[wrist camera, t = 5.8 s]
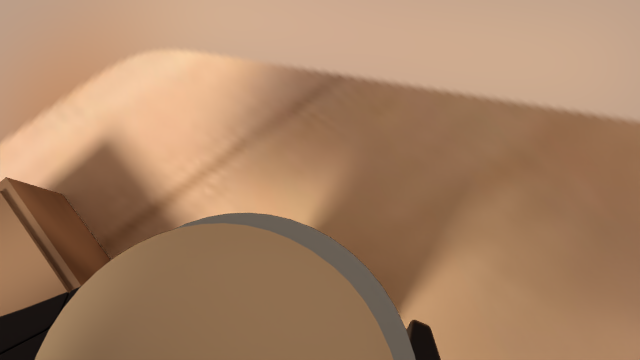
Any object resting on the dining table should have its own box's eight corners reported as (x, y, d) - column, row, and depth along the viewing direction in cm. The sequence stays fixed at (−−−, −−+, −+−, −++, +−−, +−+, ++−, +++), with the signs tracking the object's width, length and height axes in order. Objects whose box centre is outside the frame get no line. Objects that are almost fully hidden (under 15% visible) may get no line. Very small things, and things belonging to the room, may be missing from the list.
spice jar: (404, 325, 15) (543, 449, 4) (314, 416, 15) (156, 878, 3) (321, 235, 17) (234, 121, 5) (234, 316, 16) (-86, 399, 4)
